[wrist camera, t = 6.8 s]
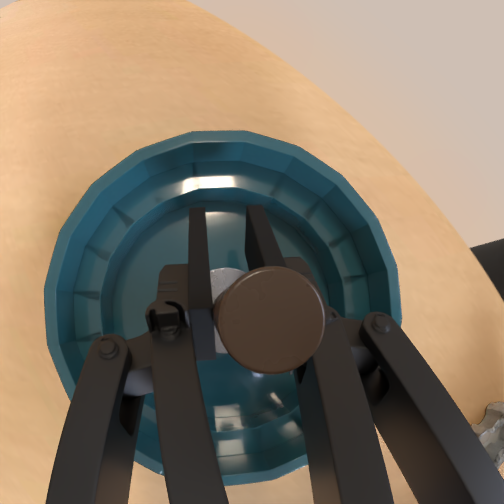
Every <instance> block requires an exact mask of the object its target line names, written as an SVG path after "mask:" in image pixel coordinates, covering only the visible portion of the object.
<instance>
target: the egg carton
mask: <svg viewBox="0 0 504 504" xmlns="http://www.w3.org/2000/svg"><path fill="white" fill-rule="evenodd" d="M471 427H472V429H473V431H474V432H475V434H476V435H477V437H478V438H479V440H480V442H481V443H482V445H483V446H484V448H485V450H486V451H487V453H488V454H489V456H490V458H491V459H492V461H493V463H494V464H495V466H496V468H497V469H498V468H499V467H500V465H501V464H502V463H503V462H504V402H498V403H493V402H492V403H490V404H489V405H488V407H487V409H486V415H485V417H484V419H483V420H482V422H481V423H480V424H478V425H477V424H472V426H471Z"/></svg>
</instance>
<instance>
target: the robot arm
mask: <svg viewBox="0 0 504 504" xmlns="http://www.w3.org/2000/svg"><path fill="white" fill-rule="evenodd" d="M244 252H245V257H246V261H247V265H248V269H249V271H251V270H254V269H256V268H260V267H265V266H280V267H285V268H289V269H292V270H294V271H296V272H298V273H300V274H301V275H303V276H304V277H305V278H307V279H308V280H309V281H310V282H311V283H312V284H313V285H314V287H315V288H316V290H317V291H318V293H319V295H320V297H321V299H322V302H323V305H324V309H325V317H326V318H325V330H324V334H323V338H322V340H321V343H320V345H319V346H318V348H317V350H316V351H315V353H314V354H313V355H312V356H311V357H310V358H309V360H307V361H306V362H305V363H304V364H303V365H301V366H299V367H298V368H296V369H294V370H292V371H290V372H289V375H290V374H292V373H293V371H294V377H295V383H296V389H297V395H298V401H299V408H300V414H301V420H302V426H303V433H304V439H305V445H306V452H307V458H308V465H309V472H310V478H311V485H312V492H313V499H314V504H394V501H393V496H392V492H391V488H390V483H389V479H388V475H387V471H386V467H385V463H384V459H383V455H382V451H381V447H380V444H379V440H378V436H377V433H376V429H375V425H376V427H377V429H378V431H379V433H380V434H381V436H382V438H383V440H384V441H385V443H386V445H387V447H388V449H389V450H390V452H391V454H392V456H393V457H394V459H395V461H396V463H397V465H398V466H399V468H400V470H401V472H402V474H403V475H404V477H405V479H406V481H407V483H408V485H409V486H410V488H411V490H412V492H413V494H414V495H415V497H416V499H417V501H418V503H419V504H504V480H503V478H502V476H501V475H500V473H499V471H498V469H497V468H496V466H495V464H494V463H493V461H492V459H491V458H490V456H489V454H488V453H487V451H486V450H485V448H484V446H483V445H482V443H481V442H480V440H479V438H478V437H477V435H476V434H475V432H474V431H473V429H472V427H471V426H470V424H469V423H468V421H467V420H466V418H465V417H464V415H463V414H462V412H461V411H460V409H459V408H458V406H457V405H456V403H455V402H454V400H453V399H452V398H451V396H450V395H449V393H448V392H447V390H446V389H445V387H444V386H443V385H442V383H441V382H440V380H439V379H438V378H437V376H436V375H435V373H434V372H433V371H432V369H431V368H430V366H429V365H428V364H427V362H426V361H425V360H424V358H423V357H422V356H421V354H420V353H419V351H418V350H417V349H416V347H415V346H414V345H413V343H412V342H411V341H410V339H409V338H408V337H407V336H406V334H405V333H404V332H403V330H402V329H401V328H400V326H399V325H398V324H397V323H396V321H395V320H394V319H393V318H392V317H391V316H389V315H387V314H385V313H383V312H378V311H377V312H370V313H369V314H367V315H366V316H365V317H364V319H363V320H355V319H348V318H343V317H341V316H340V315H339V313H338V312H337V311H336V310H335V309H333V308H332V307H330V306H328V305H327V304H326V301H325V299H324V297H323V295H322V293H321V291H320V288H319V286H318V284H317V282H316V281H315V278H314V276H313V274H312V271H311V269H310V267H309V265H308V263H306V262H305V261H304V260H303V259H302V258H301V257H283V256H282V253H281V251H280V248H279V246H278V243H277V241H276V238H275V236H274V233H273V231H272V228H271V226H270V223H269V221H268V218H267V216H266V213H265V211H264V208H263V206H262V205H247V206H246V228H245V251H244ZM145 318H146V322H147V325H148V329H149V330H148V331H147V332H146V333H144V334H143V335H140V336H138V337H135V338H132V339H128V340H125V339H124V338H123V337H121V336H120V335H116V334H106V335H103V336H100V337H99V338H97V339H96V340H95V341H94V342H93V343H92V345H91V346H90V349H89V351H88V354H87V357H86V359H85V362H84V365H83V368H82V371H81V373H80V376H79V379H78V382H77V385H76V388H75V391H74V394H73V397H72V401H71V404H70V407H69V410H68V413H67V417H66V420H65V424H64V427H63V431H62V434H61V438H60V442H59V445H58V449H57V453H56V457H55V461H54V465H53V470H52V474H51V479H50V483H49V488H48V493H47V499H46V504H128V498H129V490H130V483H131V476H132V469H133V462H134V456H135V450H136V443H137V438H138V432H139V426H140V421H141V415H142V410H143V405H144V400H145V395H146V394H148V393H151V392H154V401H155V411H156V420H157V428H158V436H159V443H160V450H161V457H162V464H163V470H164V476H165V481H166V487H167V492H168V498H169V503H170V504H229V502H228V499H227V495H226V491H225V488H224V484H223V480H222V476H221V473H220V469H219V465H218V461H217V457H216V452H215V448H214V444H213V440H212V436H211V431H210V427H209V422H208V418H207V413H206V408H205V404H204V399H203V394H202V389H201V384H200V379H199V374H198V368H197V363H196V361H204V360H216V347H215V330H214V322H213V299H212V288H211V277H210V265H209V253H208V239H207V226H206V211H205V207H195V208H189V234H188V264H170V265H165V266H164V267H163V268H162V270H161V271H160V273H159V279H158V288H157V298H156V301H154V302H152V303H151V304H150V305H149V306H148V307H147V309H146V312H145ZM374 424H375V425H374Z"/></svg>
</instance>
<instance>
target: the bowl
mask: <svg viewBox="0 0 504 504" xmlns="http://www.w3.org/2000/svg"><path fill="white" fill-rule="evenodd" d="M247 205H262V206H263V208H264V211H265V213H266V216H267V218H268V221H269V223H270V226H271V228H272V231H273V233H274V236H275V238H276V241H277V243H278V246H279V248H280V251H281V253H282V256H283V257H301V258H302V259H303V260H304V261H305V262H306V263H308V265H309V267H310V269H311V271H312V274H313V276H314V278H315V281H316V282H317V284H318V286H319V288H320V291H321V293H322V295H323V297H324V299H325V301H326V304H327V305H328V306H330V307H332V308H333V309H335V310H336V311H337V312H338V313H339V315H340V316H341V317H343V318H348V319H355V320H363V319H364V317H365V316H366V315H367V314H369V313H370V312H377V311H378V312H383V313H385V314H387V315H389V316H391V317H392V318H393V319H394V320H395V321H396V323H397V324H398V325H399V326H400V328H401V323H402V311H401V298H400V287H399V278H398V269H397V264H396V262H395V259H394V257H393V254H392V252H391V249H390V247H389V244H388V242H387V239H386V237H385V234H384V232H383V230H382V227H381V225H380V223H379V220H378V218H377V217H376V216H375V214H374V213H373V212H372V210H371V209H370V208H369V207H368V205H367V204H366V203H365V202H364V200H363V199H362V198H361V197H360V196H359V194H358V193H357V192H356V191H355V190H354V188H353V187H352V186H351V185H350V184H349V182H348V181H347V180H346V179H345V178H344V177H343V175H341V174H340V173H338V172H337V171H335V170H334V169H332V168H331V167H329V166H328V165H327V164H325V163H324V162H322V161H321V160H319V159H318V158H316V157H315V156H313V155H311V154H310V153H308V152H307V151H305V150H304V149H302V148H301V147H299V146H296V145H293V144H290V143H287V142H284V141H280V140H277V139H274V138H270V137H267V136H263V135H260V134H256V133H253V132H249V131H192V132H191V133H190V132H188V133H185V134H182V135H179V136H176V137H173V138H170V139H167V140H164V141H161V142H158V143H155V144H152V145H150V146H147V147H144V148H141V149H139V150H136V151H135V152H134V153H132V154H131V155H129V156H128V157H127V158H125V159H124V160H123V161H121V162H120V163H118V164H117V165H116V166H114V167H113V168H112V169H111V170H109V171H108V172H107V173H105V174H104V175H103V176H101V177H100V178H99V179H98V180H96V181H95V182H94V183H93V184H92V185H91V186H90V187H89V189H88V190H87V192H86V193H85V194H84V196H83V197H82V199H81V200H80V201H79V203H78V204H77V206H76V207H75V209H74V210H73V212H72V213H71V215H70V216H69V218H68V219H67V221H66V222H65V224H64V225H63V227H62V228H61V230H60V232H59V235H58V238H57V242H56V245H55V248H54V252H53V255H52V259H51V262H50V266H49V270H48V274H47V278H46V282H45V286H44V287H45V288H44V307H45V324H46V337H47V346H48V349H49V351H50V354H51V357H52V359H53V362H54V365H55V367H56V370H57V372H58V375H59V377H60V379H61V382H62V384H63V386H64V389H65V391H66V393H67V395H68V397H69V400H71V401H72V397H73V394H74V391H75V388H76V385H77V382H78V379H79V376H80V373H81V371H82V368H83V365H84V362H85V359H86V357H87V354H88V351H89V349H90V346H91V345H92V343H93V342H94V341H95V340H96V339H97V338H99V337H100V336H103V335H106V334H116V335H120V336H121V337H123V338H124V339H125V340H128V339H132V338H135V337H138V336H140V335H143V334H144V333H146V332H147V331H148V330H149V329H148V325H147V322H146V318H145V312H146V309H147V307H148V306H149V305H150V304H151V303H152V302H154V301H156V298H157V288H158V279H159V273H160V271H161V270H162V268H163V267H164V266H165V265H170V264H188V234H189V208H195V207H205V211H206V226H207V239H208V253H209V265H210V270H213V269H217V268H224V267H227V268H236V269H239V270H242V271H245V272H249V269H248V265H247V261H246V257H245V252H244V251H245V228H246V206H247ZM196 363H197V368H198V374H199V379H200V384H201V389H202V394H203V399H204V404H205V408H206V413H207V418H208V422H209V427H210V431H211V436H212V440H213V444H214V448H215V452H216V457H217V461H218V465H219V469H220V473H221V476H222V480H223V484H224V486H230V485H240V484H249V483H256V482H263V481H270V480H274V479H277V478H279V477H282V476H284V475H286V474H289V473H291V472H293V471H295V470H297V469H300V468H302V467H304V466H306V465H308V458H307V452H306V445H305V439H304V433H303V426H302V420H301V414H300V408H299V401H298V395H297V389H296V383H295V377H294V371H293V373H292V374H290V375H289V372H290V371H289V372H286V373H283V374H277V375H266V374H259V373H255V372H253V371H250V370H248V369H246V368H244V367H242V366H241V365H240V364H238V363H237V362H236V361H235V360H234V359H233V358H232V357H231V356H230V355H229V354H221V353H216V360H204V361H196ZM134 461H135V462H137V463H139V464H141V465H142V466H144V467H146V468H148V469H150V470H152V471H153V472H155V473H157V474H161V475H163V476H164V470H163V464H162V457H161V450H160V443H159V436H158V428H157V420H156V411H155V401H154V392H151V393H148V394H146V395H145V400H144V405H143V410H142V415H141V421H140V426H139V432H138V438H137V443H136V450H135V456H134Z"/></svg>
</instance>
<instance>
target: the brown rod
mask: <svg viewBox="0 0 504 504" xmlns="http://www.w3.org/2000/svg"><path fill="white" fill-rule="evenodd" d="M210 277H211V288H212V299H213V322H214V330H215V347H216V353H221V354H229V355H230V356H231V357H232V358H233V359H234V360H235V361H236V362H237V363H238V364H240V365H241V366H242V367H244V368H246V369H248V370H250V371H253V372H255V373H259V374H266V375H277V374H283V373H286V372H289V371H292V370H294V369H296V368H298V367H299V366H301V365H303V364H304V363H305V362H306V361H307V360H309V358H310V357H311V356H312V355H313V354H314V353H315V351H316V350H317V348H318V346H319V345H320V343H321V340H322V338H323V334H324V330H325V318H326V317H325V309H324V305H323V302H322V299H321V297H320V295H319V293H318V291H317V290H316V288H315V287H314V285H313V284H312V283H311V282H310V281H309V280H308V279H307V278H305V277H304V276H303V275H301V274H300V273H298V272H296V271H294V270H292V269H289V268H285V267H280V266H265V267H260V268H256V269H254V270H251V271H249V272H245V271H242V270H239V269H236V268H227V267H224V268H217V269H213V270H210Z"/></svg>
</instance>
